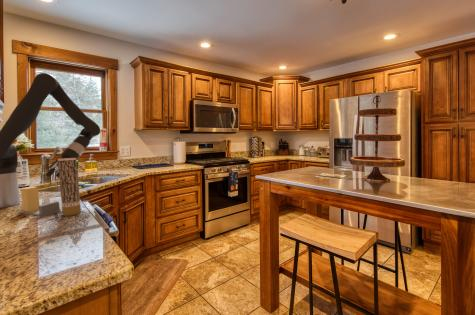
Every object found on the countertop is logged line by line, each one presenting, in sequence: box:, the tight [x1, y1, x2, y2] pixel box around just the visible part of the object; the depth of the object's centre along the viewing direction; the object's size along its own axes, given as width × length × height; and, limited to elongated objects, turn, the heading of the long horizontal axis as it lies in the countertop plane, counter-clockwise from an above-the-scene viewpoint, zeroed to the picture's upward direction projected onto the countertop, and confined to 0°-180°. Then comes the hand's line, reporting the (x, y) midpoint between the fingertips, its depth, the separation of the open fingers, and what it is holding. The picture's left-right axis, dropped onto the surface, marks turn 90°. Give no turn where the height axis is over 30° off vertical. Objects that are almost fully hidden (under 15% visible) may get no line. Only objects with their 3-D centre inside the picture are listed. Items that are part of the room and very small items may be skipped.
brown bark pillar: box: [57, 158, 82, 217], centre depth 109 cm, size 7×7×25 cm
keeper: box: [20, 186, 40, 212], centre depth 115 cm, size 4×4×11 cm
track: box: [18, 201, 61, 217], centre depth 113 cm, size 18×7×5 cm, turn 67°
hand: (52, 176), depth 124 cm, fingers open, 8 cm apart
